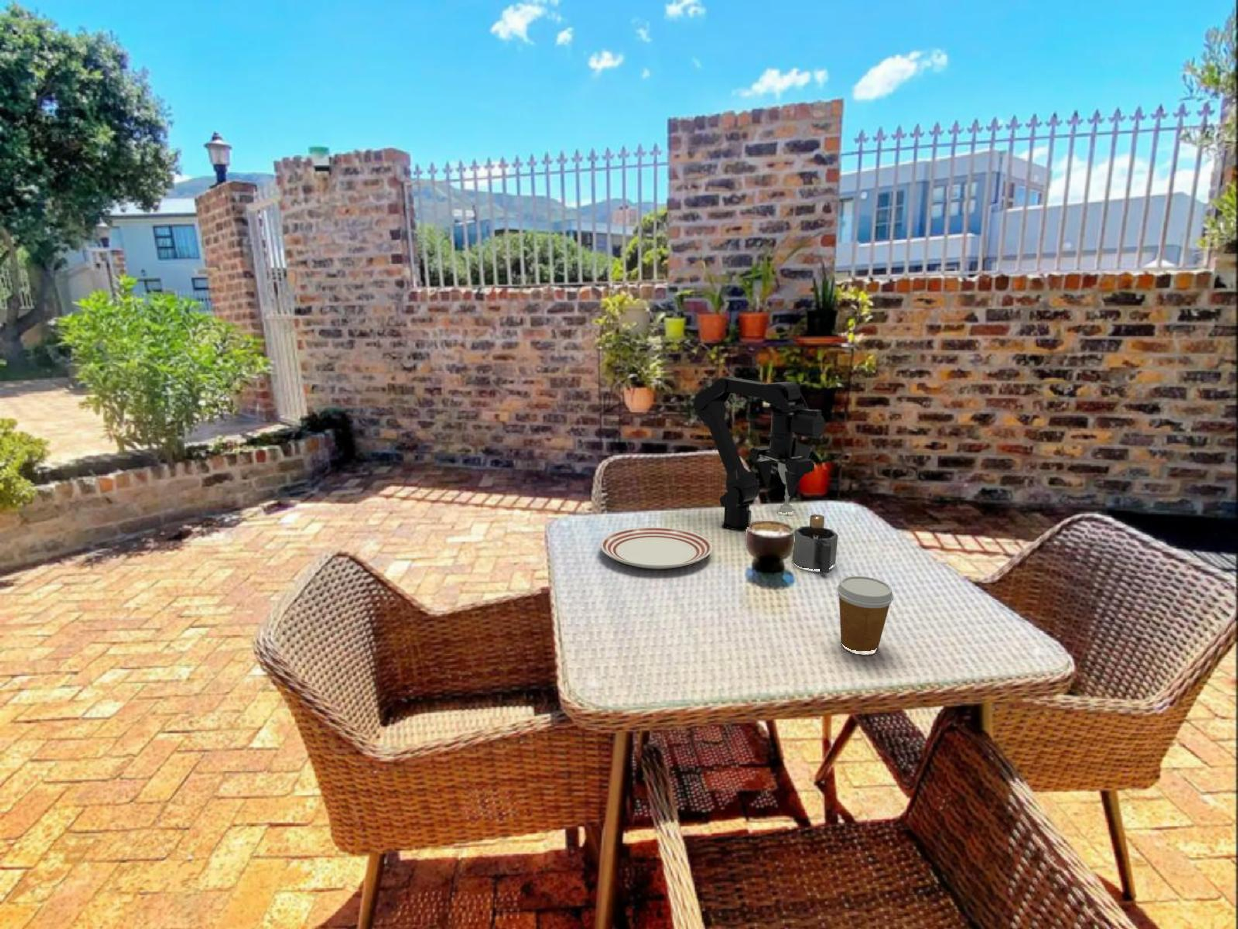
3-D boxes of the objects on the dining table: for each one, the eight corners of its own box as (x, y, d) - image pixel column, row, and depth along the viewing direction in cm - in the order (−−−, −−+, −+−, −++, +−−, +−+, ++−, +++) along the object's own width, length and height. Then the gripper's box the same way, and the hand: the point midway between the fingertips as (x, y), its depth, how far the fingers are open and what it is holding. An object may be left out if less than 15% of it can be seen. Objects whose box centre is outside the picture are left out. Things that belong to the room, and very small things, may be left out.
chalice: (772, 515, 189) (776, 455, 184) (774, 508, 195) (777, 450, 191) (798, 517, 187) (802, 457, 182) (799, 510, 193) (803, 451, 189)
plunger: (796, 562, 152) (799, 518, 149) (801, 552, 158) (805, 510, 155) (826, 567, 149) (830, 523, 146) (830, 557, 155) (834, 514, 152)
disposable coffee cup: (843, 628, 124) (848, 570, 121) (894, 645, 118) (901, 584, 115) (823, 648, 117) (828, 587, 114) (877, 667, 111) (884, 603, 108)
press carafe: (788, 557, 158) (790, 526, 156) (824, 556, 158) (827, 525, 156) (805, 577, 146) (808, 544, 144) (844, 576, 147) (847, 543, 145)
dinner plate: (599, 536, 172) (599, 524, 171) (701, 535, 173) (702, 523, 172) (601, 579, 146) (601, 565, 145) (721, 578, 147) (722, 564, 146)
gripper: (833, 436, 159) (828, 497, 162) (782, 423, 175) (778, 479, 178) (798, 440, 154) (794, 503, 157) (749, 427, 170) (746, 484, 174)
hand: (778, 491), depth 167 cm, fingers open, 9 cm apart
